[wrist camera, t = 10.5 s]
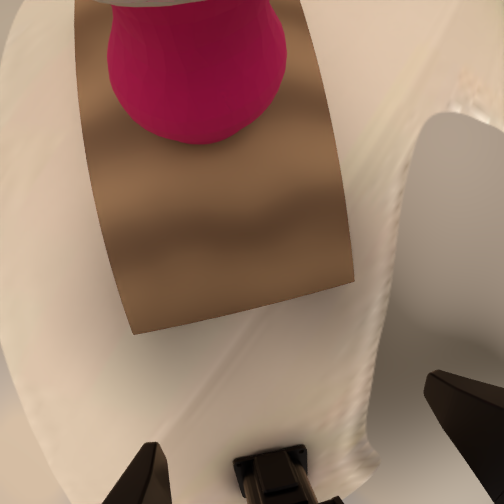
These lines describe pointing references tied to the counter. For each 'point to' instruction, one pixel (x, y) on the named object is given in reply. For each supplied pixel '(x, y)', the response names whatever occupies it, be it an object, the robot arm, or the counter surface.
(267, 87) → the pepper mill
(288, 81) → the walnut board
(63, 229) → the counter surface
